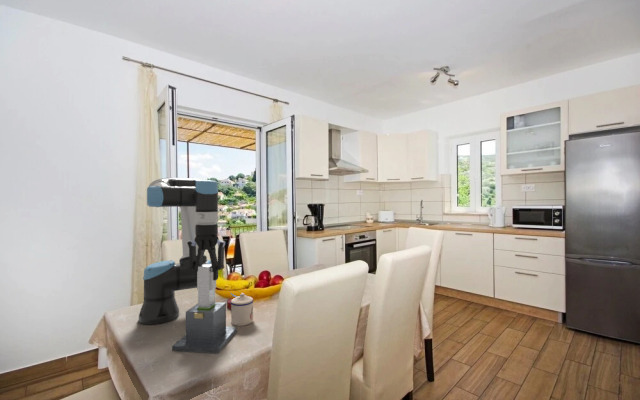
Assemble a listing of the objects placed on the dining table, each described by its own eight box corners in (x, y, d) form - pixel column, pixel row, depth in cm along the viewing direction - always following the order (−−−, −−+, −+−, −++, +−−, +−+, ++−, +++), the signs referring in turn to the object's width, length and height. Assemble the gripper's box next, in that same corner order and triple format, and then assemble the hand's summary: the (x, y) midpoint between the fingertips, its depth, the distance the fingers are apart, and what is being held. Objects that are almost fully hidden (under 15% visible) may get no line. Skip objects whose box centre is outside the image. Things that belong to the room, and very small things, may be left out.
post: (197, 323, 102) (197, 266, 102) (203, 318, 106) (203, 263, 106) (209, 323, 102) (209, 267, 101) (215, 318, 106) (215, 264, 106)
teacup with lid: (255, 323, 118) (255, 295, 118) (232, 328, 114) (232, 298, 114) (249, 313, 129) (249, 287, 129) (228, 316, 125) (228, 289, 125)
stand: (172, 350, 97) (172, 314, 97) (197, 329, 113) (197, 298, 113) (217, 353, 95) (217, 317, 95) (236, 331, 111) (236, 300, 111)
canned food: (236, 311, 143) (242, 291, 147) (250, 314, 137) (256, 292, 141) (218, 307, 135) (225, 285, 139) (232, 309, 129) (239, 286, 134)
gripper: (177, 224, 101) (177, 291, 101) (225, 224, 99) (225, 293, 99) (189, 222, 108) (189, 284, 109) (234, 223, 107) (234, 286, 107)
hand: (206, 288), depth 104 cm, fingers closed on post, 4 cm apart
